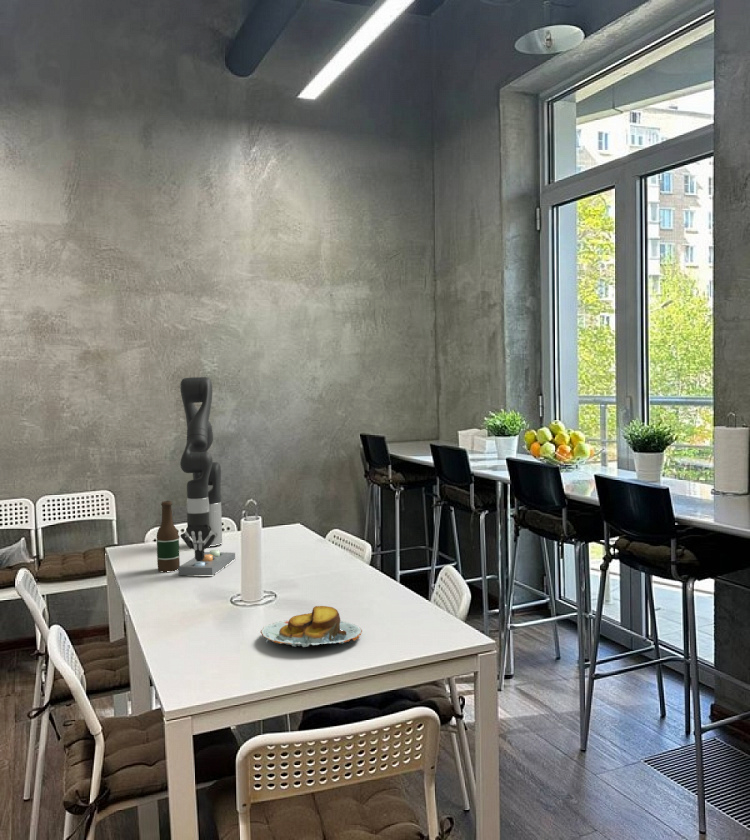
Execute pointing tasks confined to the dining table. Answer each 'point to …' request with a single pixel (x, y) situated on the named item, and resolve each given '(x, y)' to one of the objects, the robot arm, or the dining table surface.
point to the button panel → (206, 565)
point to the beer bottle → (167, 541)
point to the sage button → (215, 553)
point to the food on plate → (312, 629)
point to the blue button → (199, 564)
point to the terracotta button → (208, 557)
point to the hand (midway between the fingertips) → (199, 560)
